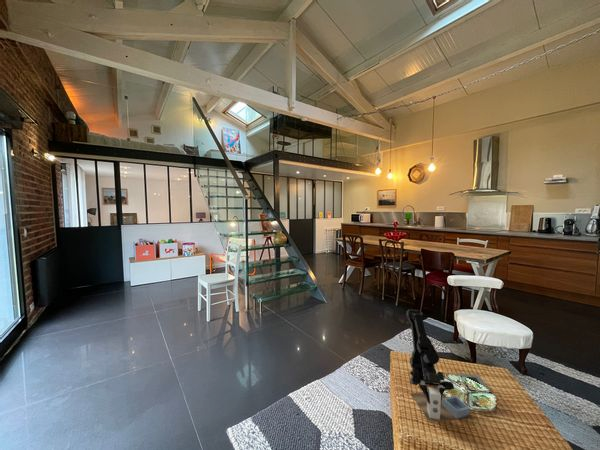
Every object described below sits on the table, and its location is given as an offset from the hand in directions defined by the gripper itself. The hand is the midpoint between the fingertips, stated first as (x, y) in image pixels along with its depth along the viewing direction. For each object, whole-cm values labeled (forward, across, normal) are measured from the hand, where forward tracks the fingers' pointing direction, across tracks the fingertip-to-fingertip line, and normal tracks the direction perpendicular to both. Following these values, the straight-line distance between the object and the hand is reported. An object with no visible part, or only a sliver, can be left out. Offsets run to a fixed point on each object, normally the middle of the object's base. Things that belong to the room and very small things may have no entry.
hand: (434, 404), depth 113 cm
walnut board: (0, +5, +11) cm, 12 cm away
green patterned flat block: (-14, +30, +26) cm, 42 cm away
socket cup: (0, +12, +10) cm, 15 cm away
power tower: (+4, 0, +6) cm, 7 cm away
